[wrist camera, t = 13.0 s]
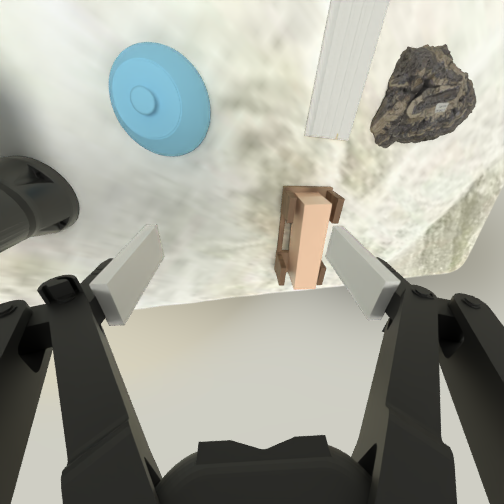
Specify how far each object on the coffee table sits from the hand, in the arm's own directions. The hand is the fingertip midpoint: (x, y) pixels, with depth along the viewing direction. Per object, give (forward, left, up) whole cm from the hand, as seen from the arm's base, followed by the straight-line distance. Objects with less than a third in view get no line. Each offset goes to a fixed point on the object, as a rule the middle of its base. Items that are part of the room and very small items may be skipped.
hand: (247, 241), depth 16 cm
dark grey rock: (+33, +13, -31) cm, 47 cm away
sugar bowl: (-13, +10, -31) cm, 35 cm away
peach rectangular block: (+14, -14, -29) cm, 36 cm away
